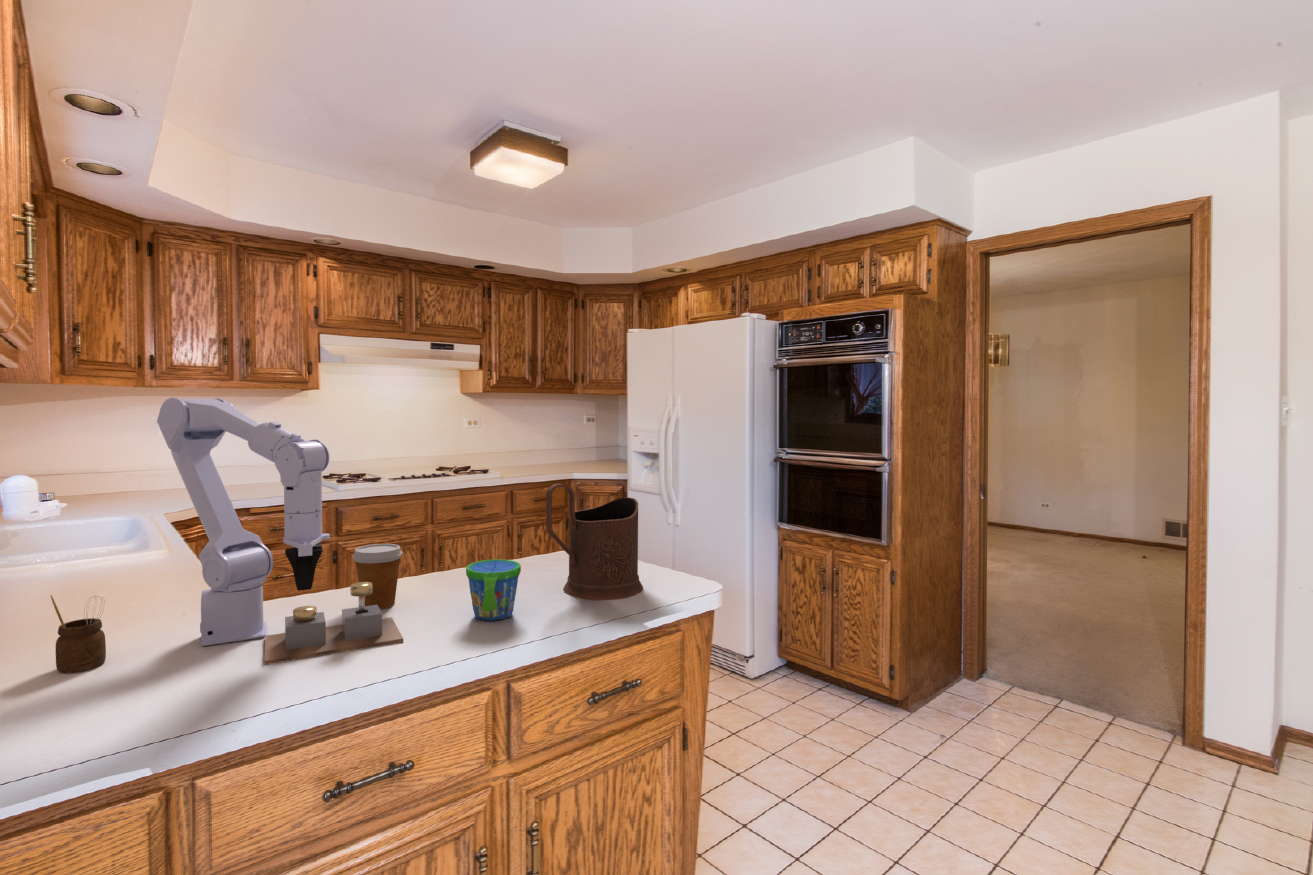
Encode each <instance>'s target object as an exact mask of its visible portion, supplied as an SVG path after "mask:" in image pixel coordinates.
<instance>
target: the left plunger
mask: <svg viewBox="0 0 1313 875" xmlns="http://www.w3.org/2000/svg"><path fill="white" fill-rule="evenodd" d="M317 609H318V608H317V606H315V605H302V606H298V607H295V608H294V609H293V610H292V616H293V620H294V621H309V620H312V619H315V618H316V617H317V613H318V610H317Z"/></svg>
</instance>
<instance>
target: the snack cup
mask: <svg viewBox="0 0 1313 875" xmlns="http://www.w3.org/2000/svg"><path fill="white" fill-rule="evenodd" d="M465 568H466V569H465V575H466V576H467V579H468V584H469V592H470V597H471V604H472V610H473V614H474V617H475V618H476V619H477V620H479V619H480V620H482V621H488V622H489V621H491V622H492V621H499V620H504V619H507V618H510V617H511V616H512V615H513V612H514V606H515V602H516V596H517V589H518V582H519V580H518V579H519V577H520V574H521V572H522V571H521V570H522V567H521V564H520V562H518V561H515V560H510V559H484V560H478V561H475V562H471V563H469V564H467V566H465Z"/></svg>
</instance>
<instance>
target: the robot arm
mask: <svg viewBox="0 0 1313 875" xmlns="http://www.w3.org/2000/svg"><path fill="white" fill-rule="evenodd" d="M156 423H157V424H158V427H159V429H160V431H161V434H162V436H163V439H164V441H165V443H166V445H167V447H168V449H169V450H170V453H171V455H172V458H173V461H174V462H175V465H176V467H177V470H178V473H179V475H180V478H181V480H182V482H183V483H184V486H185V488H186V491H187V492H188V495H189V497H190V500H191V502H192V504H193V507H194V508H195V512H196V513H197V516H198V518H199V521H200V522H201V525H202V527H203V529H204V532H205V534H206V537H207V538H208V542H207V543H206V545H204V547H203V549H201V551H200V553H199V555H198V558H199V559H200V562H201V567H202V570H201V571H202V572H201V573H202V577H203V580H204V582H205V583H206V585H207V586H208V587H209V589H204V590H202V591H201V596H200V597H201V598H200V625H199V632H200V635H201V636H200V637H201V643H200V645H201V646H202V647H205V646H212V645H219V644H227V643H231V642H232V643H233V642H240V641H247V640H253V639H261V638H266V636H267V622H266V621H264V589H263V588H264V587H263V583H266V582H267V577H268V576H269V575H270V574H271V573H272V570H273V567H274V557H273V554H272V552H271V551H270V549H269V548H268V547H267V546H266V545H265V544H264V543H263V542H262V538H261V537H260V536H259V535H258V534H256V533H253V532H252V531H249V530H246V529H244V528H243V526H242V523H241V521H240V519H239V515H238V514H237V512H236V510H235V508H234V505H233V503H232V501H231V499H230V497H229V494H228V491H227V489H226V488H225V485H224V483H223V480H222V479H221V476H220V474H219V472H218V470H217V467H216V465H215V462H214V460H213V459H212V456H211V451H212V450H213V449H214V448H216V447H217V446H219V443H220V442H221V440H222V439H223V437H224V436H225V434H226V432H227V433H229V434H231V435H233V436H236V437H238V438H241V439H242V440H245V441H247V444H248V445H247V446H248V447H249V449H250V450H251V451H252V452H253V453H256V455H259V456H261V457H263V458H264V459H266V460H268V461H270V462H272V463H274V466H275V468H276V469H277V472H278V473H279V476H280V483H281V485H282V486H283V503H284V504H283V507H284V508H283V511H284V513H283V514H284V515H283V517H284V536H283V540H282V543H283V544H285V545H287V546H291V547H288V548H285V549H284V553H285V557H286V559H287V560H288V562H289V563H290V566H291V568H292V572H293V578H294V583H295V587H296V590H297V591H298V592H300V591H308V590H312V587H313V584H314V579H315V575H316V574H315V573H316V570H317V569H316V568H317V564H318V562H319V559H320V558H321V556H322V554H323V552H324V551H323V546H322V544H320V543H321V542H322V541H325V540H330V539H331V535H330V533H323V495H322V494H323V493H322V492H323V491H322V490H323V489H322V488H323V487H322V484H323V483H322V482H323V481H322V480H323V479H322V476H323V475H322V474H323V473H322V472H324V471H325V470H326V469H327V468H328V465H329V463H330V453H329V449H328V448H327V446H326V445H325V444H324V443H322V442H321V440H320V439H309V440H305V439H304V438H302V436H301V434H298V433H292V432H291V431H288V430H286V429H284V428H282V423H279V422H278V421H269V422H263V423H259V422H257V421H256V420H254V419H252V418H251V417H249V416H248V415H246V414H244V413H243V412H241V411H239V410H238V409H236V408H235V407H234V405H233V403H232V402H230V401H227V400H224V399H222V398H219V397H218V398H178V397H169V398H167V399H165V400H164V401H163V402H162V404H161V407H160V408H159V413H158V416H157V419H156Z"/></svg>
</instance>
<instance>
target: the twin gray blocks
mask: <svg viewBox="0 0 1313 875" xmlns="http://www.w3.org/2000/svg"><path fill="white" fill-rule="evenodd" d="M325 617H326V616H325V614H324V611H321V612H317V617H316V618H315V619H312V620H309V621H294V620H293V615H291V616H285V617H284V624H285V625H284V627H285V628H284V633H285V642H286V650H291V649H297V648H304V647H310V646H316V645H323V644H326V627H327V625H326V624H327V622H326V618H325ZM382 619H383V612H382V611H381V609H379V607H378V605H371V606H365V613H360V614H359V606H357V607H350V608H342V609H341V625H342V632H343V635H344V639H345V641H348V640H355V639H361V638H368V637H374V636H380V635H382Z"/></svg>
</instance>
